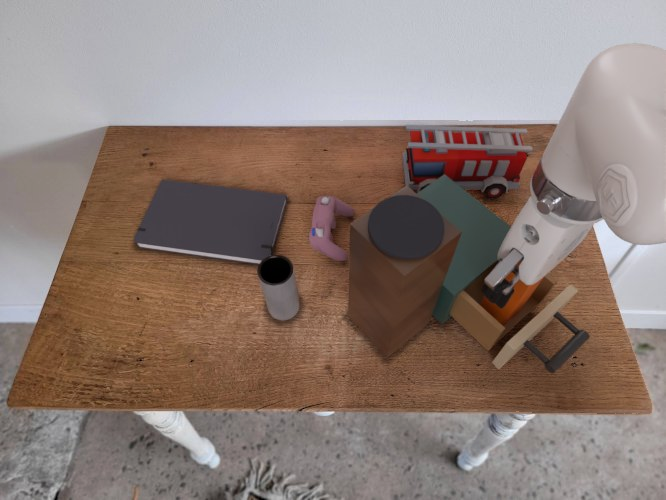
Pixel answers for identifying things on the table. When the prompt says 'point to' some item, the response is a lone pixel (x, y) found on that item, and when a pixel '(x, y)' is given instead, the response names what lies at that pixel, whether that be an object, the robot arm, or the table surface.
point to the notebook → (212, 221)
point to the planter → (279, 286)
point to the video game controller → (328, 226)
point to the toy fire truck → (465, 157)
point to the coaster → (406, 227)
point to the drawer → (492, 331)
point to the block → (510, 301)
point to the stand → (394, 285)
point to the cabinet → (464, 239)
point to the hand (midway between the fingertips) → (519, 275)
